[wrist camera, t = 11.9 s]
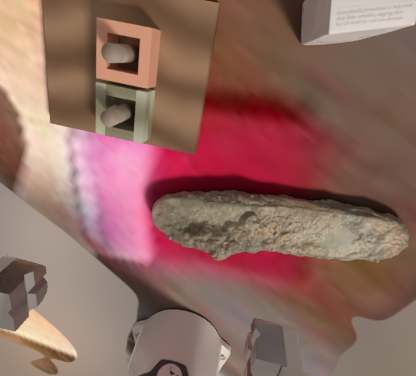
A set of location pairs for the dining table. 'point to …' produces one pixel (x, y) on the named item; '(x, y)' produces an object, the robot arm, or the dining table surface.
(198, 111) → the wooden peg board
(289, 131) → the dining table surface
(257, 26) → the dining table surface
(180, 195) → the long grey stone
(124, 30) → the chunky salmon square frame
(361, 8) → the skincare box
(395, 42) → the dining table surface
